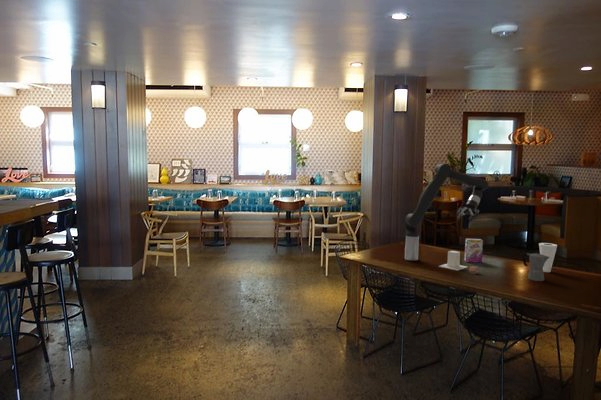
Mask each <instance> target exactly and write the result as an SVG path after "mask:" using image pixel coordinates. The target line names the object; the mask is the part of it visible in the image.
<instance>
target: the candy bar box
mask: <svg viewBox="0 0 601 400" xmlns="http://www.w3.org/2000/svg"><path fill="white" fill-rule="evenodd" d="M464 241H465V245H464V262H465V263H476V262H480V263H482V262H483V261H482V260H483V249H484V248H483V247H484V240H483V239H481V238H465V240H464Z"/></svg>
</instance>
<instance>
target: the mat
mask: <svg viewBox="0 0 601 400" xmlns="http://www.w3.org/2000/svg"><path fill="white" fill-rule="evenodd" d="M438 267H439V268H443V269H449V270H452V271H458V272H459V271H461V270H464V269H467V268H468V266H466V265H461V264H460V266H459V267H456V268H454V267H449V266H447V263H443V264H441V265H438Z"/></svg>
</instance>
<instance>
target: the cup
mask: <svg viewBox="0 0 601 400" xmlns="http://www.w3.org/2000/svg"><path fill="white" fill-rule="evenodd" d="M538 246H539V247H538V248H539V254H542V255H545V256H548V257H549V258H548V259H547V261H546V262H545V263H544V267H543V272H544V273H551V271H552V266H553V263H554V260H555V255H556V252H557V248H558V244H555V243H551V242H550V243H549V242H539V243H538Z"/></svg>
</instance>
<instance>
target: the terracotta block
mask: <svg viewBox="0 0 601 400" xmlns="http://www.w3.org/2000/svg"><path fill="white" fill-rule="evenodd" d="M468 268H469V269H468V274H472V275H476V273H477V274H479V267H478V266H474V265H472V266H468Z"/></svg>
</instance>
